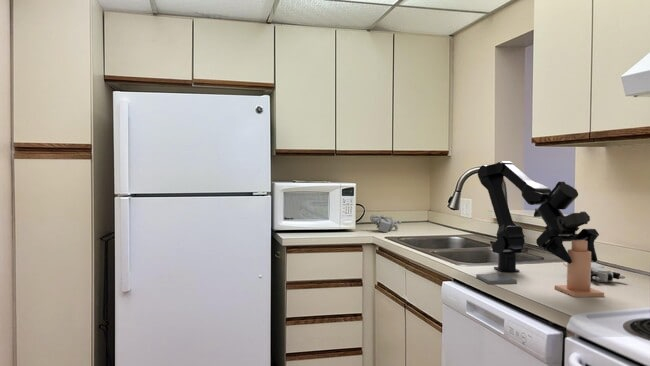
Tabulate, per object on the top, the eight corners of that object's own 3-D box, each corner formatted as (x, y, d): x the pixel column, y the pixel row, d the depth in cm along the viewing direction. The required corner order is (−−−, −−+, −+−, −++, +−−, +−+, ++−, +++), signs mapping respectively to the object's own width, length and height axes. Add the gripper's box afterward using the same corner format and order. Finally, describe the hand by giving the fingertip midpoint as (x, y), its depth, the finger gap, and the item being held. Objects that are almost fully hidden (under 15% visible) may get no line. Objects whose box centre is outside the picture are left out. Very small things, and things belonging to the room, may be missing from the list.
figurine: (399, 241, 265) (370, 237, 260) (394, 224, 274) (366, 220, 269) (406, 229, 258) (377, 225, 253) (401, 212, 267) (373, 208, 262)
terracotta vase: (563, 288, 134) (564, 240, 134) (572, 285, 138) (573, 238, 138) (584, 292, 130) (586, 242, 129) (593, 289, 134) (595, 240, 133)
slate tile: (476, 277, 152) (476, 274, 152) (502, 276, 153) (502, 273, 153) (489, 283, 143) (489, 280, 143) (516, 283, 144) (516, 280, 144)
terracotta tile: (554, 288, 138) (554, 285, 138) (582, 288, 139) (582, 284, 139) (574, 296, 129) (574, 293, 129) (604, 296, 130) (604, 292, 130)
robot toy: (627, 286, 146) (592, 272, 160) (629, 272, 145) (593, 259, 160) (593, 287, 144) (560, 273, 158) (594, 273, 143) (561, 260, 158)
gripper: (544, 202, 134) (574, 246, 124) (594, 201, 140) (627, 244, 130) (524, 226, 142) (551, 269, 132) (572, 224, 148) (601, 266, 137)
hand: (583, 262), depth 132 cm, fingers open, 9 cm apart
